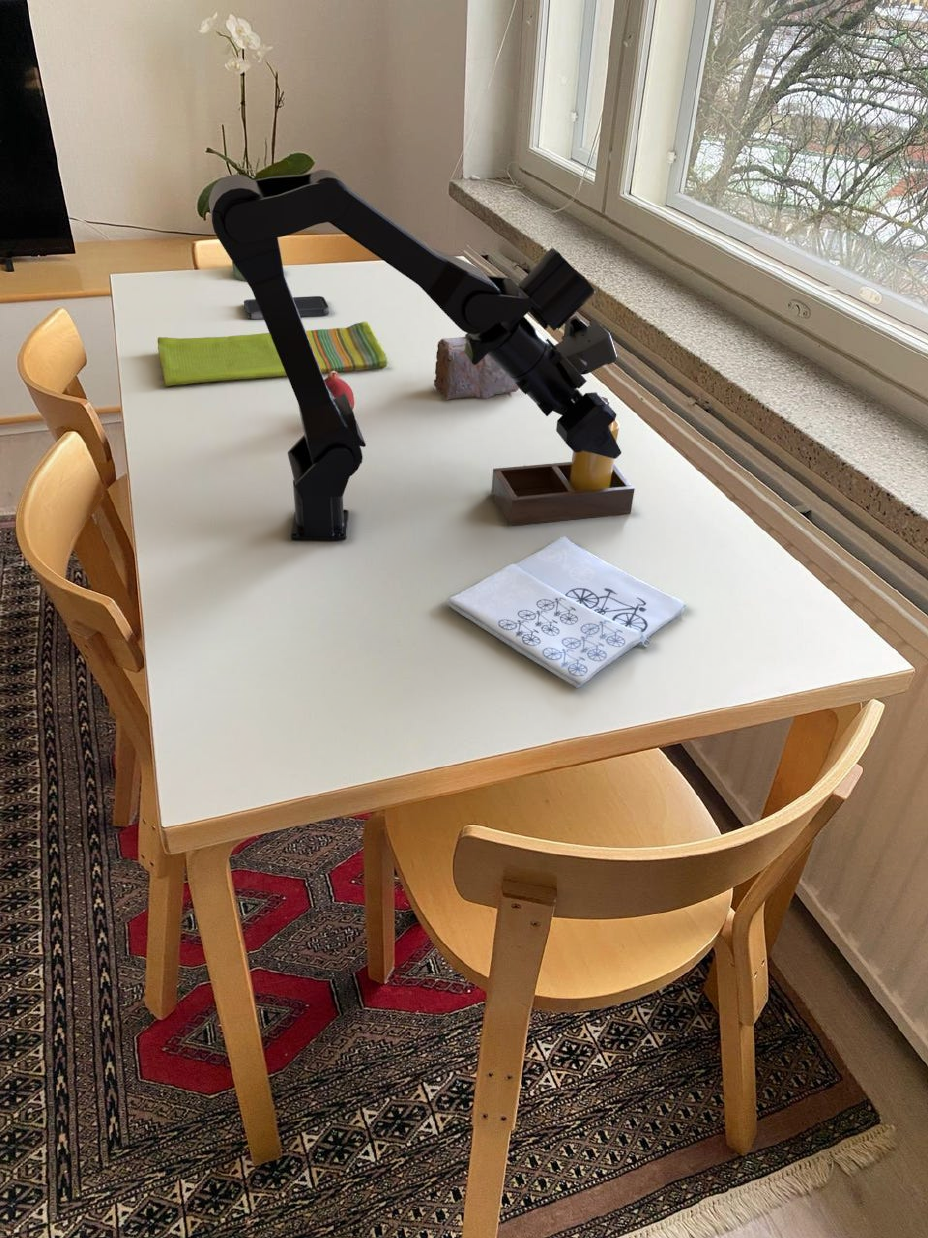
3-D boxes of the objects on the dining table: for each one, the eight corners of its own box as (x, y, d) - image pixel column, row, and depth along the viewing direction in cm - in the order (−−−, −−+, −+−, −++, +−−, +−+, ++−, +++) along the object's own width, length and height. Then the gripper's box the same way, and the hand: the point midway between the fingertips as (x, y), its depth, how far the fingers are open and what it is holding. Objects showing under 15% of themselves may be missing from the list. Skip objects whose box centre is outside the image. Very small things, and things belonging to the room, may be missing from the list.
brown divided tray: (491, 493, 120) (492, 468, 118) (605, 482, 124) (609, 458, 122) (510, 526, 114) (512, 500, 112) (630, 513, 118) (634, 488, 115)
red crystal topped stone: (509, 377, 152) (514, 317, 146) (529, 396, 146) (534, 334, 140) (430, 385, 148) (432, 324, 142) (448, 405, 142) (450, 342, 136)
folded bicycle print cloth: (441, 608, 100) (442, 591, 98) (564, 542, 111) (566, 527, 110) (578, 696, 89) (580, 678, 88) (697, 613, 101) (701, 597, 99)
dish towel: (390, 369, 153) (390, 350, 151) (165, 389, 142) (162, 369, 141) (368, 337, 164) (367, 319, 162) (158, 353, 154) (155, 334, 152)
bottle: (605, 508, 117) (619, 411, 109) (564, 501, 118) (576, 405, 110) (610, 489, 121) (624, 394, 113) (571, 482, 122) (582, 388, 114)
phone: (329, 308, 172) (247, 313, 168) (329, 314, 172) (247, 319, 169) (322, 295, 178) (243, 299, 174) (323, 301, 178) (243, 305, 175)
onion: (347, 435, 132) (345, 381, 127) (309, 430, 133) (305, 377, 128) (359, 418, 136) (358, 366, 132) (322, 414, 137) (319, 361, 132)
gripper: (610, 334, 97) (687, 424, 106) (551, 279, 111) (623, 363, 120) (532, 410, 99) (613, 492, 109) (484, 347, 114) (560, 424, 123)
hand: (603, 438), depth 115 cm, fingers open, 9 cm apart
